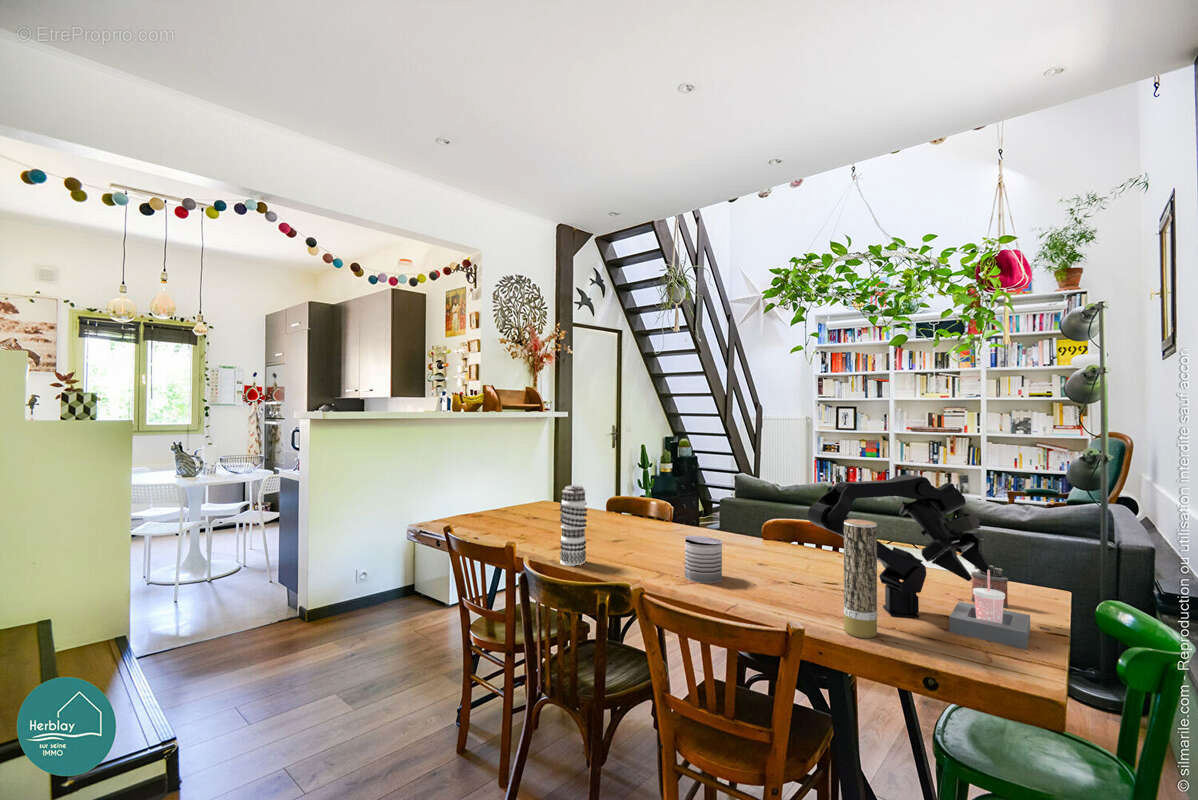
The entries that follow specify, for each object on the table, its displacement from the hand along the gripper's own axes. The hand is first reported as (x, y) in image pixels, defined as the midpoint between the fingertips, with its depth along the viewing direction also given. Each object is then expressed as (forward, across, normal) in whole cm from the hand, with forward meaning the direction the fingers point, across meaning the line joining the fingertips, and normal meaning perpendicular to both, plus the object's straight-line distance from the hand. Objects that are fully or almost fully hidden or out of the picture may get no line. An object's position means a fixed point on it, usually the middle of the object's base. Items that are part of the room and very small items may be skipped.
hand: (980, 576), depth 130 cm
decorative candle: (-60, -55, +76) cm, 112 cm away
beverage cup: (+10, 0, +8) cm, 12 cm away
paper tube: (0, -27, +17) cm, 32 cm away
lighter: (+3, +21, +14) cm, 26 cm away
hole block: (+10, 0, +7) cm, 12 cm away
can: (-36, -29, +53) cm, 70 cm away
